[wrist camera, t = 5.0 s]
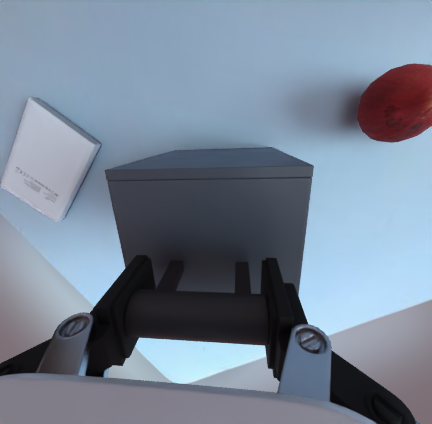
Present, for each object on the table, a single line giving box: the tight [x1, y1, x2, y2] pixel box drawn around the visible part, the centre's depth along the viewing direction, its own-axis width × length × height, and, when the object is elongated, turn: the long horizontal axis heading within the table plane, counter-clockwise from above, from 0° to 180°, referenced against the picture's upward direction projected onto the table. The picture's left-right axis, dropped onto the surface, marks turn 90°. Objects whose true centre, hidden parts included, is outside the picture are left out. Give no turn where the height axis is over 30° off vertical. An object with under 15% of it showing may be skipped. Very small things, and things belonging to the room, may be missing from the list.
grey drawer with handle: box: [105, 147, 314, 345], centre depth 17 cm, size 19×11×9 cm
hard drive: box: [0, 97, 101, 222], centre depth 26 cm, size 2×8×12 cm
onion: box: [357, 64, 432, 142], centre depth 18 cm, size 6×6×8 cm
